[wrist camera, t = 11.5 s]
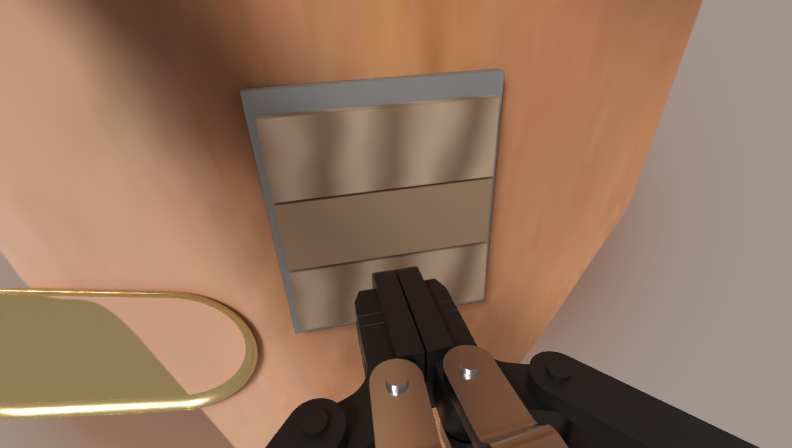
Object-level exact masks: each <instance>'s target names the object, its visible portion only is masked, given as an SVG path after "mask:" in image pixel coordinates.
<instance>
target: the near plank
mask: <svg viewBox="0 0 792 448" xmlns="http://www.w3.org/2000/svg"><path fill="white" fill-rule="evenodd" d="M499 103H500V98H499V97H496V96H494V95H486V96H475V97H463V98H452V99H441V100H429V101H418V102H406V103H395V104H384V105H372V106H361V107H349V108H338V109H327V110H315V111H304V112H292V113H281V114H270V115H258V116H257V117H256V119H255V122H256V126H257V131H258V135H259V140H260V145H261V149H262V154H263V158H264V163H265V167H266V172H267V177H268V181H269V186H270V190H271V195H272V199H273V203H280V202H288V201H296V200H304V199H312V198H320V197H329V196H337V195H345V194H353V193H361V192H369V191H377V190H386V189H394V188H402V187H410V186H418V185H426V184H435V183H443V182H451V181H459V180H467V179H475V178H483V177H492V176H493V174H494V162H495V150H496V138H497V127H498V115H499Z"/></svg>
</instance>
